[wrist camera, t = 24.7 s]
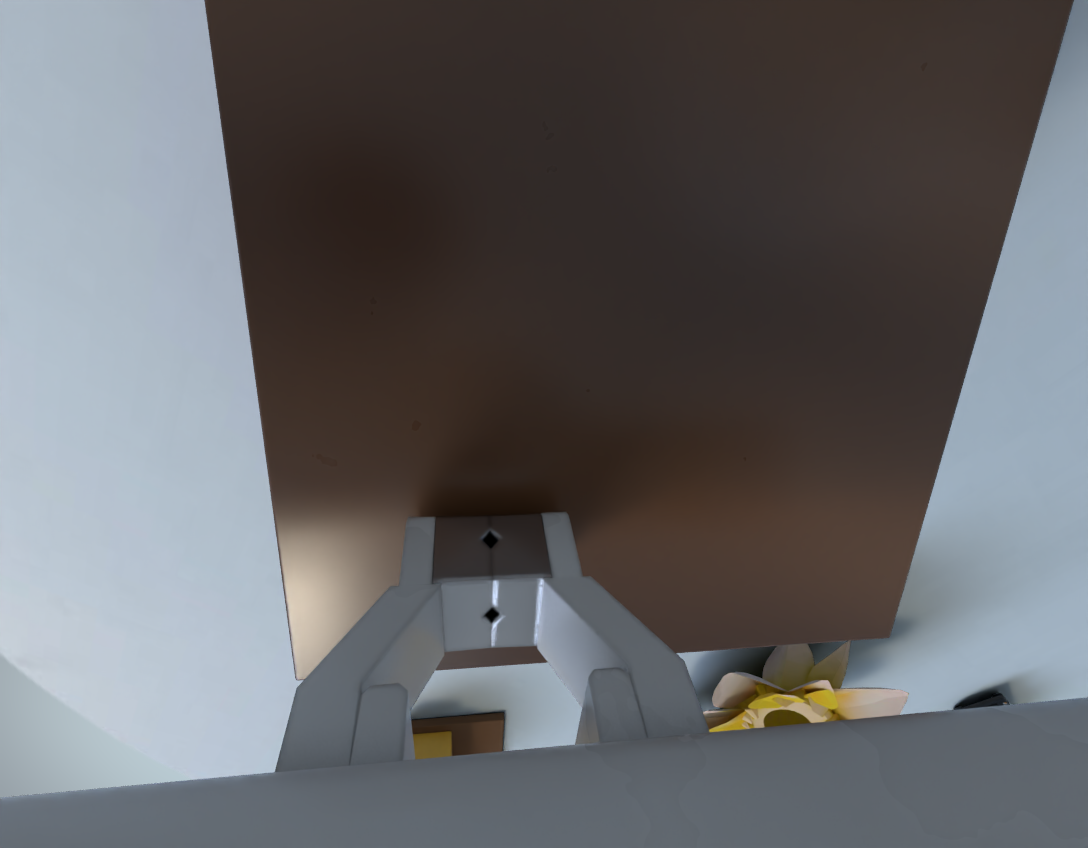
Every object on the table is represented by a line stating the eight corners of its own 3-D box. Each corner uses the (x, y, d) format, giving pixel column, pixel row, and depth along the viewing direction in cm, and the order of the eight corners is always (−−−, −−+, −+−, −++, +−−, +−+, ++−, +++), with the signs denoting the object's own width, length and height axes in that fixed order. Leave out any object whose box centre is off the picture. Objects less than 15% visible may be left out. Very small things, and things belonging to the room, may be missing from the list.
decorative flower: (741, 605, 29) (885, 831, 22) (874, 591, 34) (1024, 769, 27) (614, 738, 37) (690, 933, 30) (738, 710, 42) (826, 870, 35)
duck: (378, 727, 33) (359, 899, 27) (451, 721, 34) (449, 888, 27) (391, 801, 38) (376, 960, 32) (453, 794, 39) (452, 949, 32)
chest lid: (868, 617, 14) (890, 639, 14) (304, 654, 12) (294, 681, 12) (1101, -245, 9) (1158, -286, 8) (170, -418, 7) (135, -496, 6)
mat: (351, 789, 38) (349, 797, 37) (335, 726, 33) (333, 734, 33) (500, 774, 39) (500, 782, 39) (503, 711, 35) (504, 719, 34)
